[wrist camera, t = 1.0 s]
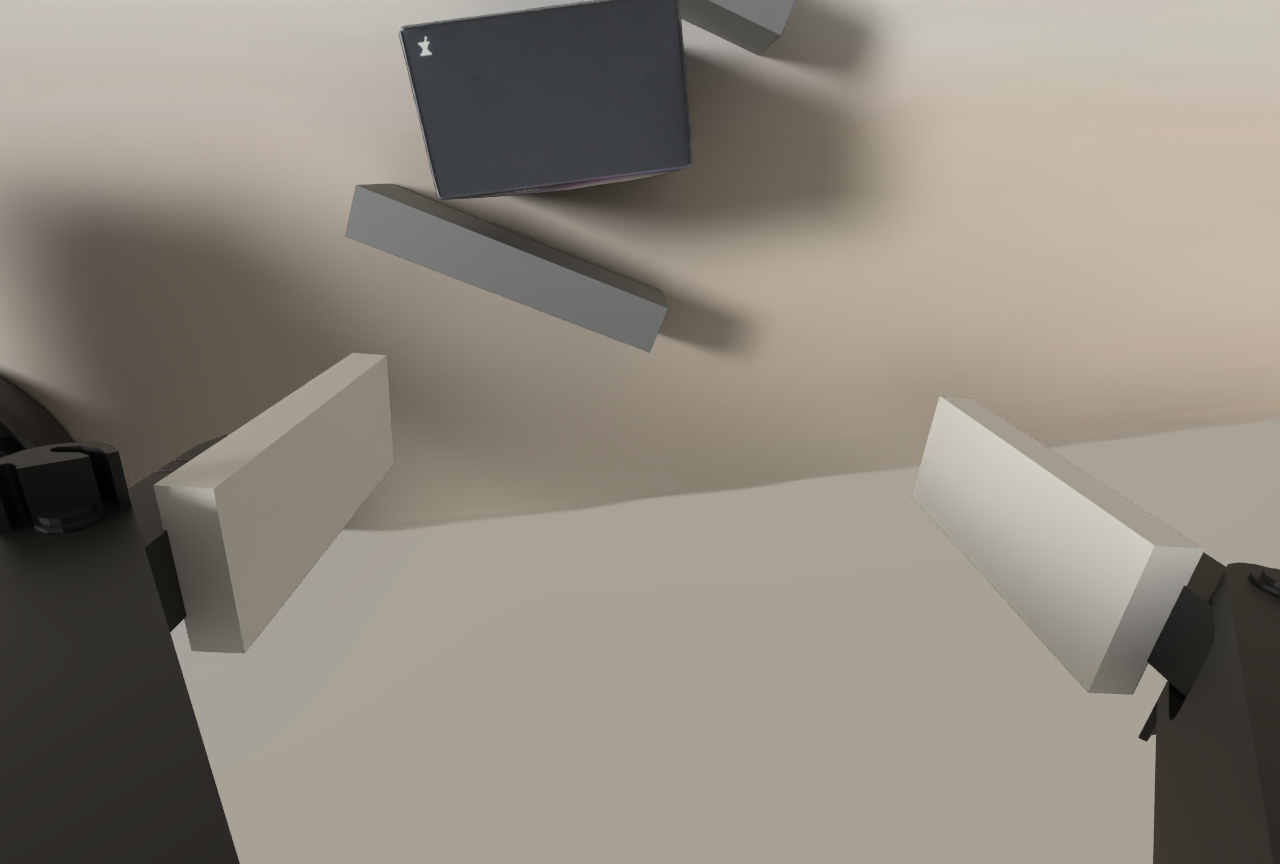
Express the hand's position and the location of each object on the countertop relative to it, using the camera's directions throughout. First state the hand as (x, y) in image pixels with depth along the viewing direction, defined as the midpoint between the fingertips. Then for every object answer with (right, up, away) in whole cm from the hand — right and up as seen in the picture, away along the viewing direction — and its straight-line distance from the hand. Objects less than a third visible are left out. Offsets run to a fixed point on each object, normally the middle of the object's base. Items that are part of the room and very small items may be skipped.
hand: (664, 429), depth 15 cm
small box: (-4, +17, +19) cm, 25 cm away
